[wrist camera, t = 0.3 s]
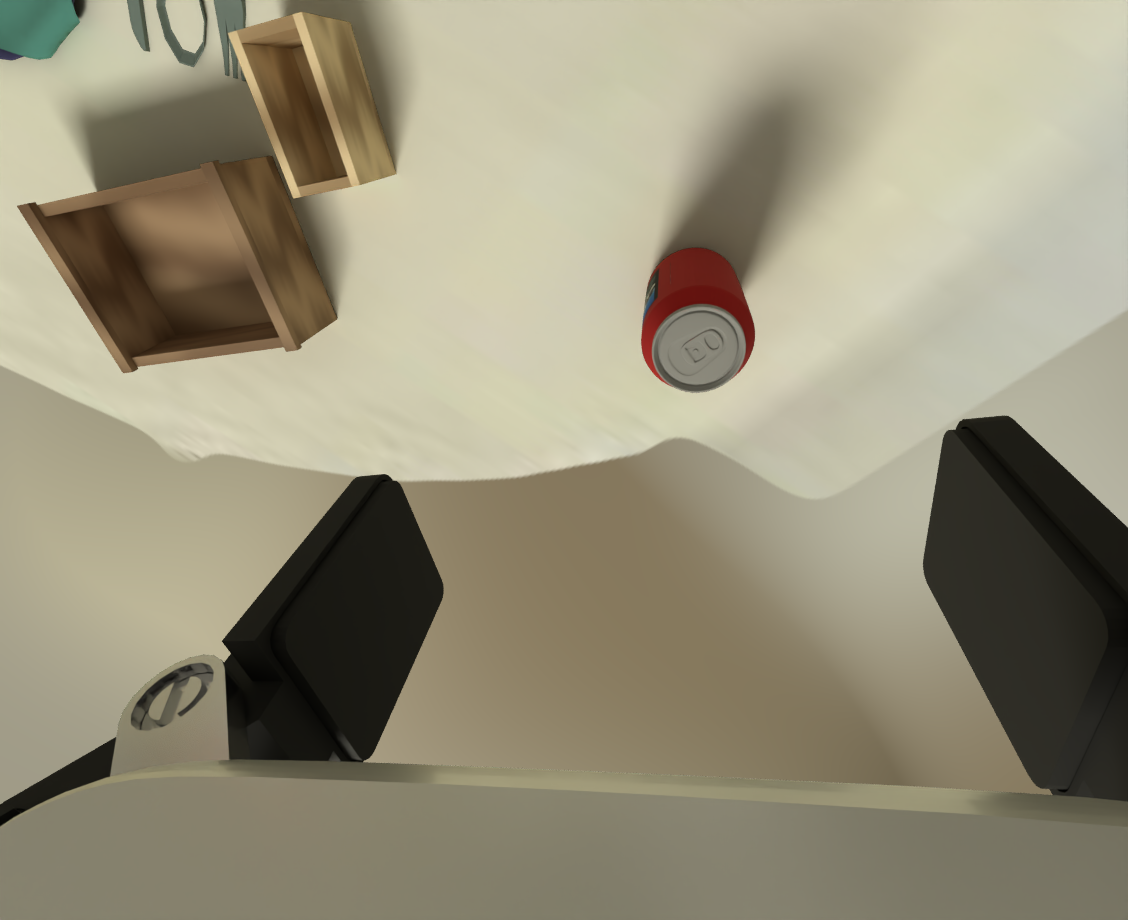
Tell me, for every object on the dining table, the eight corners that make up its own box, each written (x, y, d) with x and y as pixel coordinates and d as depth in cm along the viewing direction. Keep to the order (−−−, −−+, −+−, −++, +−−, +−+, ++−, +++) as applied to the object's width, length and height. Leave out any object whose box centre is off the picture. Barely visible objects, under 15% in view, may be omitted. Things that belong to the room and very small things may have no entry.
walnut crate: (94, 192, 46) (17, 206, 40) (271, 152, 42) (212, 161, 36) (179, 343, 52) (123, 373, 47) (339, 321, 48) (297, 350, 43)
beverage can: (628, 281, 43) (617, 337, 33) (707, 224, 40) (720, 268, 30) (677, 349, 45) (679, 422, 35) (754, 301, 42) (781, 365, 32)
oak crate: (285, 40, 38) (227, 33, 33) (350, 22, 37) (301, 11, 32) (337, 186, 43) (293, 198, 38) (396, 173, 41) (359, 185, 36)
